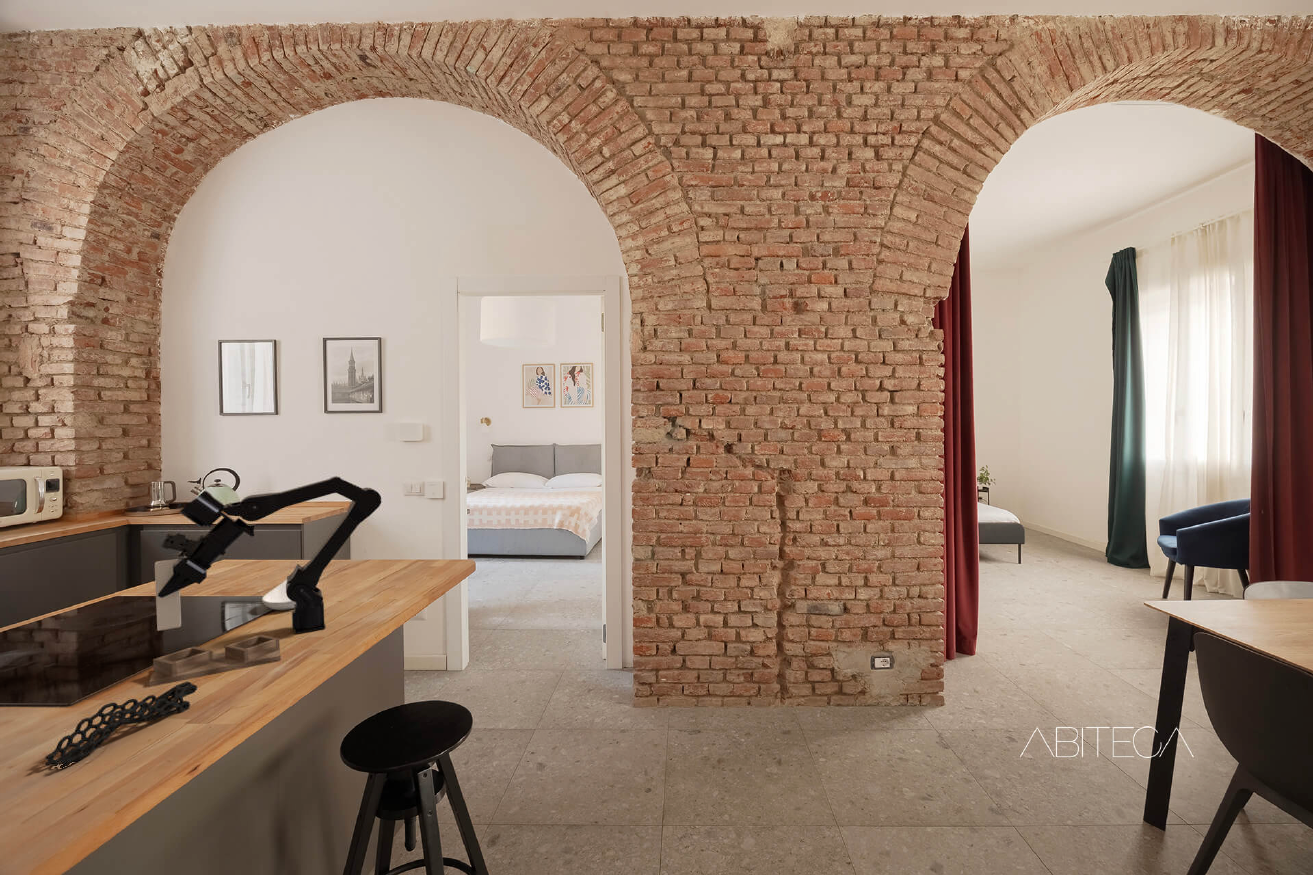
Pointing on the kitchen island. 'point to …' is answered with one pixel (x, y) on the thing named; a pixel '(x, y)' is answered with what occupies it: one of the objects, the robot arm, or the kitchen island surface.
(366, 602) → the kitchen island surface
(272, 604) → the spoon rest
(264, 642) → the double compartment tray
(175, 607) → the beige rectangular block
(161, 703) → the decorative element
